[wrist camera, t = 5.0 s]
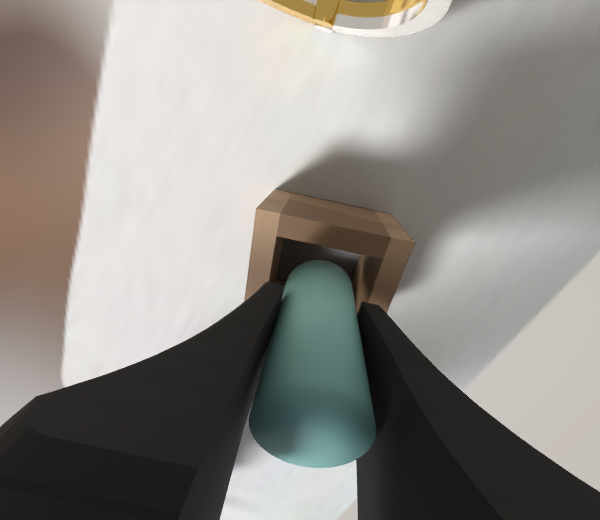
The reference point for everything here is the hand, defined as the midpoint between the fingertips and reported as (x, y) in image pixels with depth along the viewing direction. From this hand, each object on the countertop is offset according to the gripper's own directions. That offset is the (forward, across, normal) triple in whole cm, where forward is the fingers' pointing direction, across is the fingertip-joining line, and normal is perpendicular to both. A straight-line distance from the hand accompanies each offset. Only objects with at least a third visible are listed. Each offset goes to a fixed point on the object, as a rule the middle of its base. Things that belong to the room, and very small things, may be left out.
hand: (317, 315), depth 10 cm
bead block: (+6, 0, 0) cm, 6 cm away
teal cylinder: (+2, 0, 0) cm, 2 cm away
